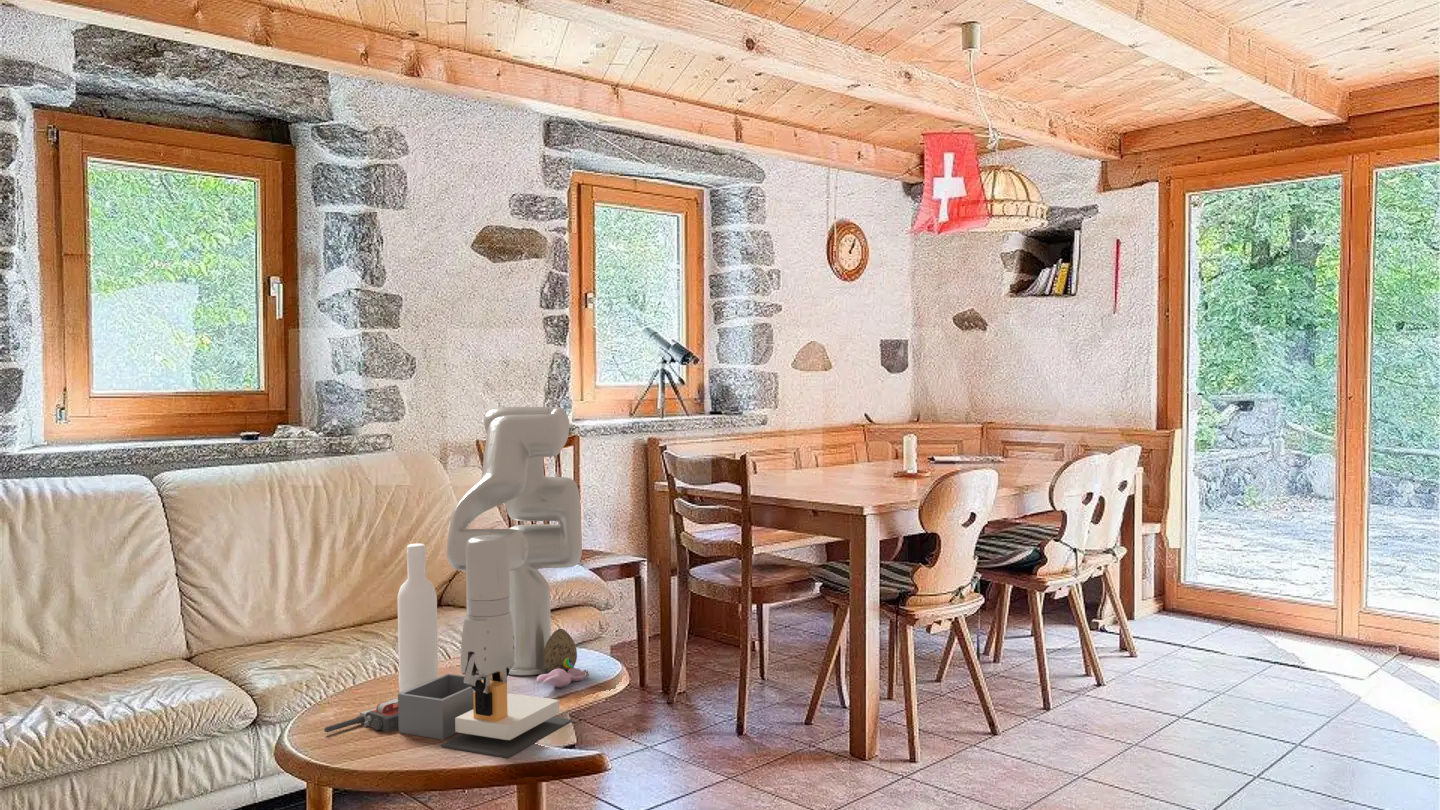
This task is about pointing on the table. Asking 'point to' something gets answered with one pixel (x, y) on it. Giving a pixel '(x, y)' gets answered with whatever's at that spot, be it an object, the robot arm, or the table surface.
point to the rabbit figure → (563, 675)
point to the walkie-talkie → (374, 718)
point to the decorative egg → (559, 650)
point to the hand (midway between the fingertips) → (490, 710)
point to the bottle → (417, 623)
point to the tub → (434, 707)
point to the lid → (507, 714)
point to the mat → (505, 746)
